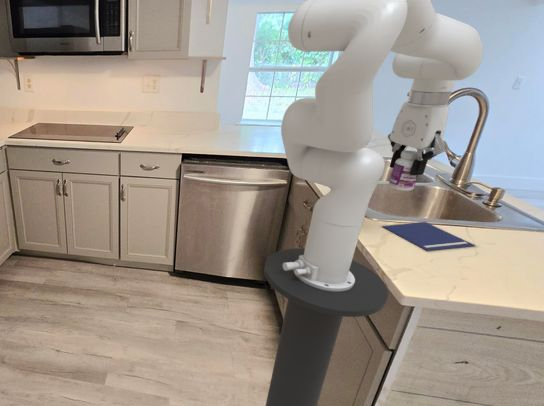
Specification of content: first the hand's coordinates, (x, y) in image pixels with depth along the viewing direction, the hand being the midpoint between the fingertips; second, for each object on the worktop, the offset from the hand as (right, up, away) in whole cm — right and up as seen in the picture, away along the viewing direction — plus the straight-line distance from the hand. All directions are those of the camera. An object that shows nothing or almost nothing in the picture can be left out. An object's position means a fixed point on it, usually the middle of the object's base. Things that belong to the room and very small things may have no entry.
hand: (405, 170), depth 94 cm
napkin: (+12, -18, +8) cm, 23 cm away
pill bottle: (0, -5, +2) cm, 5 cm away
